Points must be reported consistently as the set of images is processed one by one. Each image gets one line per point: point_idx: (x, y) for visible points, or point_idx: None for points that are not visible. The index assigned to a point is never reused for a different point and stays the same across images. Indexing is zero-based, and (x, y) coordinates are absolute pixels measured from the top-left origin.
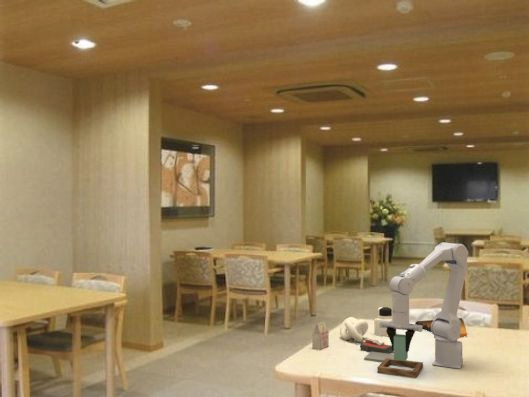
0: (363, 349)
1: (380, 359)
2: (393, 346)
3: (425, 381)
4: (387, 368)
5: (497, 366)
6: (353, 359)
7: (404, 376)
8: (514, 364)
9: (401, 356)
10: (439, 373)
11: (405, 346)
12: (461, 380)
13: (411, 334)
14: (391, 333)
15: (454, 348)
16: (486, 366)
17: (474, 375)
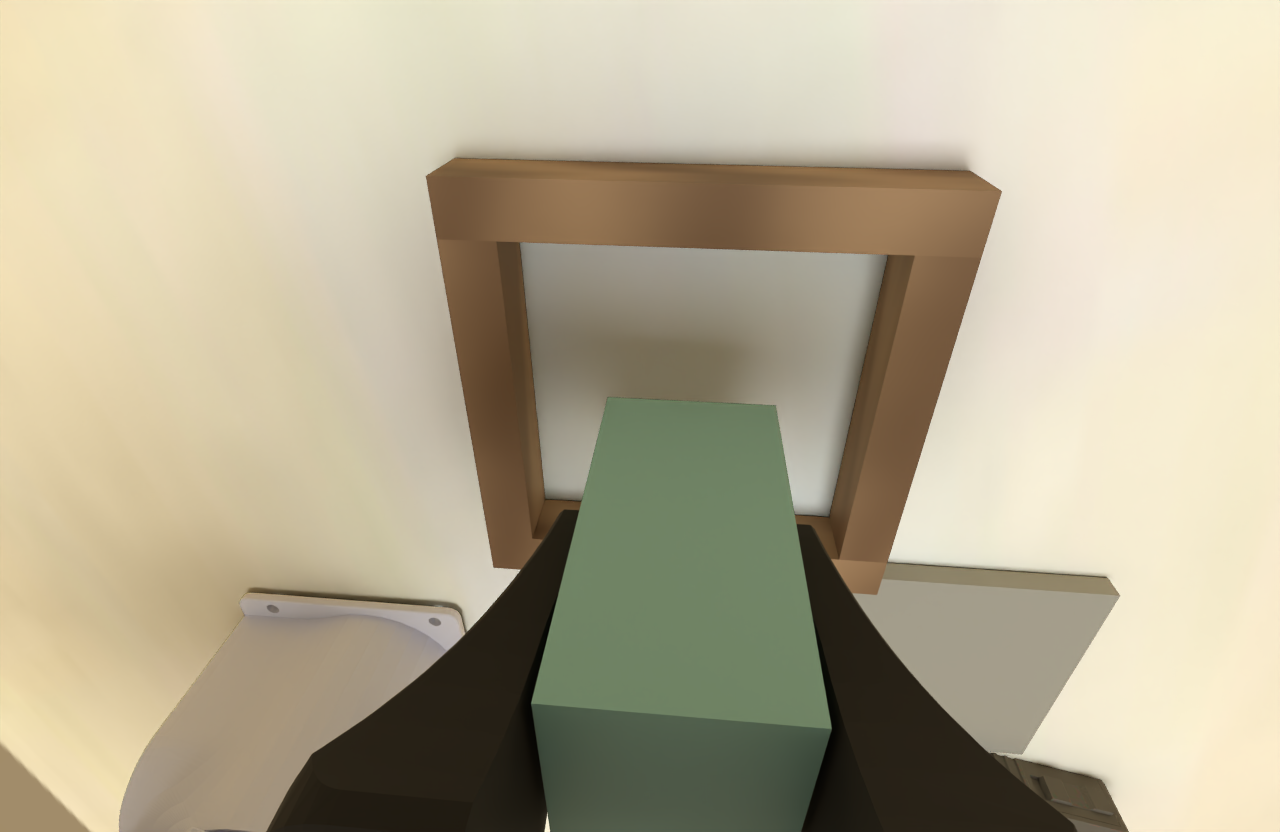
0: (1087, 787)
1: (935, 593)
2: (805, 560)
3: (308, 73)
4: (840, 185)
5: (96, 699)
6: (1235, 563)
7: (598, 162)
8: (54, 748)
9: (658, 431)
10: (321, 433)
11: (572, 551)
12: (49, 301)
13: (307, 772)
14: (914, 797)
15: (190, 766)
16: (145, 684)
17: (70, 484)
